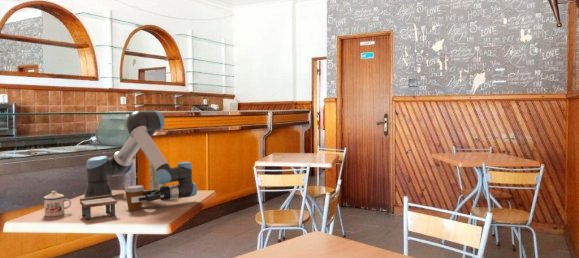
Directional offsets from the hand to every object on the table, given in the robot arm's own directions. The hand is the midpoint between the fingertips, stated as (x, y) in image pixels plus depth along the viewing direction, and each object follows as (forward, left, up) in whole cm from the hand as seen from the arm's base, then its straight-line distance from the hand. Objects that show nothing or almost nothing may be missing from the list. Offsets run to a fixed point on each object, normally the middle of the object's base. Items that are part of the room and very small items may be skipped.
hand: (127, 198), depth 220 cm
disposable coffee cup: (0, +3, -7) cm, 8 cm away
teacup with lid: (-15, -29, -7) cm, 34 cm away
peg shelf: (+2, -14, -7) cm, 16 cm away
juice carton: (-32, +28, -7) cm, 43 cm away
